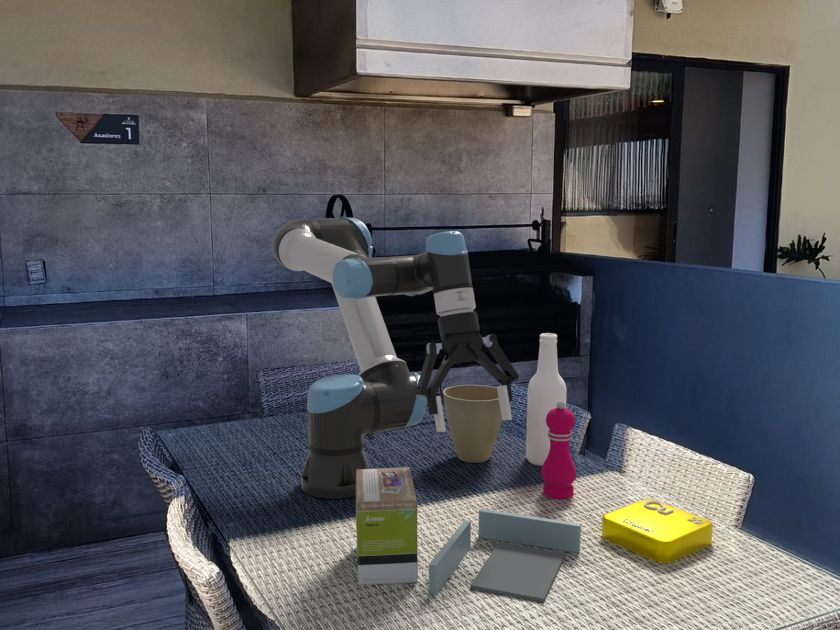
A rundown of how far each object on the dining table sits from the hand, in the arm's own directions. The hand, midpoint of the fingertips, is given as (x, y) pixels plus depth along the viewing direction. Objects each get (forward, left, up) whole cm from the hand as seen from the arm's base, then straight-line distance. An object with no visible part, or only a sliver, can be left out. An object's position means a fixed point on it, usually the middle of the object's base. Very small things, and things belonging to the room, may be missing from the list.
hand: (474, 425), depth 152 cm
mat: (+13, -15, -19) cm, 28 cm away
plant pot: (-11, +36, -20) cm, 43 cm away
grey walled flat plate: (+11, -16, -19) cm, 27 cm away
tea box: (-9, -21, -20) cm, 30 cm away
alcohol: (+5, +40, -20) cm, 45 cm away
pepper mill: (+12, +21, -20) cm, 31 cm away
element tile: (+33, +6, -20) cm, 39 cm away
